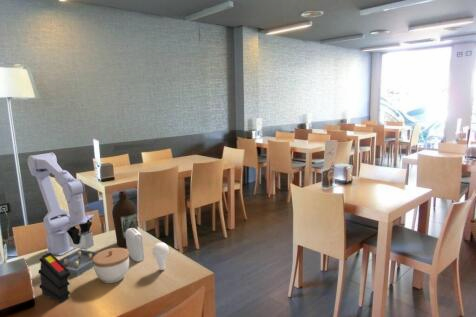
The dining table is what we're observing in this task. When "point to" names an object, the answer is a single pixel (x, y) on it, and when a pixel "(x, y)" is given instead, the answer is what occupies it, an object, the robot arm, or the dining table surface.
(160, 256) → the lightbulb
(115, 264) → the lidded bowl
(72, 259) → the tray
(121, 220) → the olive oil
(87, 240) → the block
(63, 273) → the black layered block
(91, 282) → the dining table surface
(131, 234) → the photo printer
